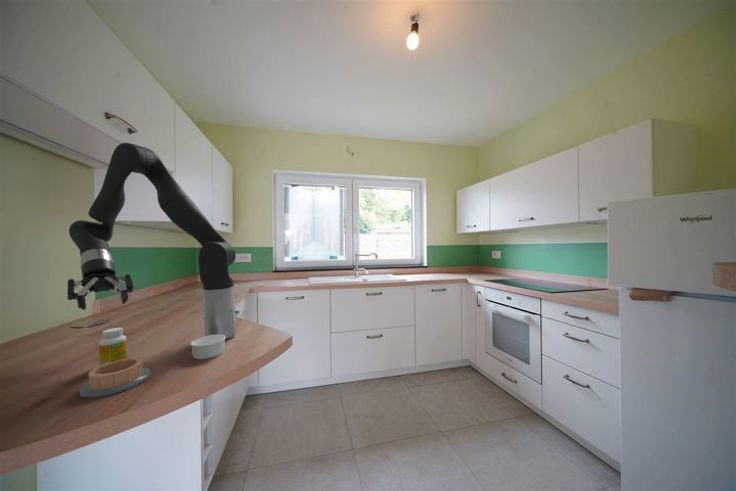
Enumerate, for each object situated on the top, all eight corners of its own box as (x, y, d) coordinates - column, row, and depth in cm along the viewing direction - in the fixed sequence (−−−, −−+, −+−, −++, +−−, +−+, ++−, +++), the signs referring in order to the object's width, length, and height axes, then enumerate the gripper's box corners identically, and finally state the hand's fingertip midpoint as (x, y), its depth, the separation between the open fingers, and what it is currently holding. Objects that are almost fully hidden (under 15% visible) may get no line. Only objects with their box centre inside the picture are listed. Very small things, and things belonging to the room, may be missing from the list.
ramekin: (198, 363, 71) (197, 347, 71) (186, 356, 76) (185, 341, 76) (231, 352, 78) (230, 337, 78) (218, 345, 83) (217, 332, 83)
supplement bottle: (111, 370, 68) (109, 333, 68) (94, 369, 69) (92, 333, 69) (132, 361, 74) (131, 326, 73) (116, 360, 74) (115, 326, 74)
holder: (158, 367, 69) (157, 352, 69) (138, 390, 58) (137, 372, 58) (99, 377, 65) (98, 361, 65) (65, 404, 54) (64, 384, 54)
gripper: (64, 259, 78) (69, 301, 71) (128, 256, 89) (137, 293, 82) (64, 276, 81) (68, 318, 74) (125, 271, 93) (134, 307, 86)
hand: (105, 305), depth 78 cm, fingers open, 8 cm apart
